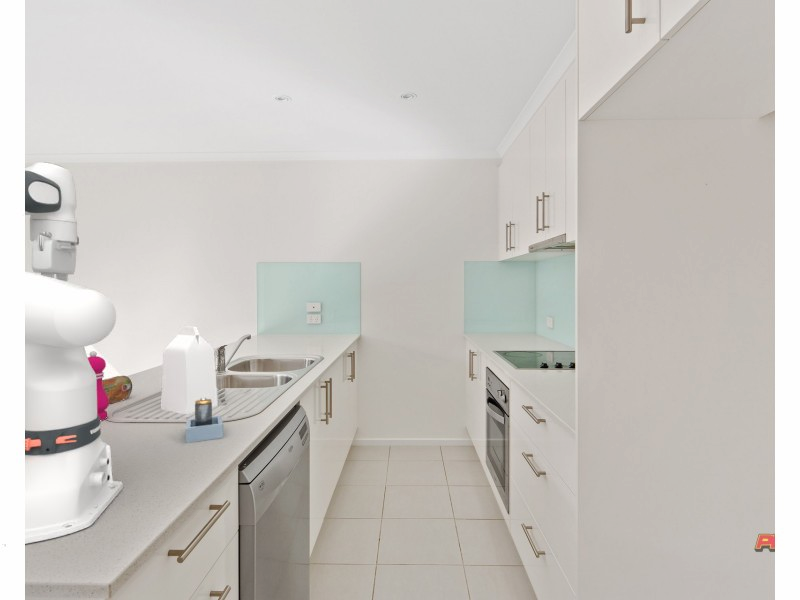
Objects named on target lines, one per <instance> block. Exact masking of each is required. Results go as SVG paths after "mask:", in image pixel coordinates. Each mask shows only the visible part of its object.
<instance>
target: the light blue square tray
mask: <svg viewBox="0 0 800 600" xmlns="http://www.w3.org/2000/svg"><path fill="white" fill-rule="evenodd" d="M185 423H186V424H185V443H186V444H188V443H196V442H201V441H209V440H210V441H211V440H217V439H218V440H219V439H223V438H224V423H223V418H222V415H214V416H213V415H212V425H204V426H195V418H187V419H186V422H185Z"/></svg>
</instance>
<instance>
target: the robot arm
mask: <svg viewBox="0 0 800 600" xmlns="http://www.w3.org/2000/svg"><path fill="white" fill-rule="evenodd" d="M24 168H25V215H24V216H30V217H29V231H30V232H29V236H30V237H29V239H30V241H31V242H32V244H31V246H32V247H31V268H32V271H33V272H30V271H26V270H24V271H25V544H31V543H36V542H42V541H46V540H50V539H54V538H59V537H62V536H67V535H69V534H73V533H77V532H78V531H81V530H84V529H86V528H89V527H91V526H92V525H93V524H94V523H95V522H96V521H97V519H98V518H100V516H101V514H102V513H103V512H104V511H105V510H106V509H107V507H108V506H109V505H110V504H111V503H112V502H113V500H114V499H115V498H116V497H117V495H119V494H120V492H122V490H123V488H124V485H123V482H122V481H120V480H119V481H117V480H113V467H112V454H111V453H112V452H111V446H110V445H108V443H106V442H104V441H103V440H102V439H101V437H100V436H101V435H102V434H101V433H102V432H101V431H102V430H101V428H102V423H101V421H100V416H99V415H97V380H96V374H95V372H94V370H93V369H92V367H91V365H90V363H89V361H88V358H87V357H88V354H87V352H86V349H85V347H87V346H91V345H94V344H97V343H99V342H101V341H103V340H104V339H106V338H107V337H108V336H109V335H110V334H111V332H112V331H113V330H114V327H115V324H116V321H117V311H116V308H115V305H114V303H113V302H112V301H111V300H110V299H109V297H108V296H106V295H105V294H103V293H102V292H99V291H98V290H95V289H93V288H91V287H87V286H83V285H80V284H77V283H74V282H69V281H68V280H69V275H74V274H75V271H76V267H77V265H76V263H77V246H79V245H80V239H79V236H78V223H77V218H76V209H77V191H76V183H75V180H74V177H73V176H74V175H72V172H71V171H70V170H69V169H67V168H65V167H64V166H62V165H58V164H55V163H51V162H45V161H43V162H41V161H38V162H34V163H33V164H32V165H30V166H27V167H24ZM55 277H56V278H55ZM25 544H24V545H25ZM2 545H3V544H2ZM4 547H7V546H6V544H4ZM4 547H3V548H4Z"/></svg>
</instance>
